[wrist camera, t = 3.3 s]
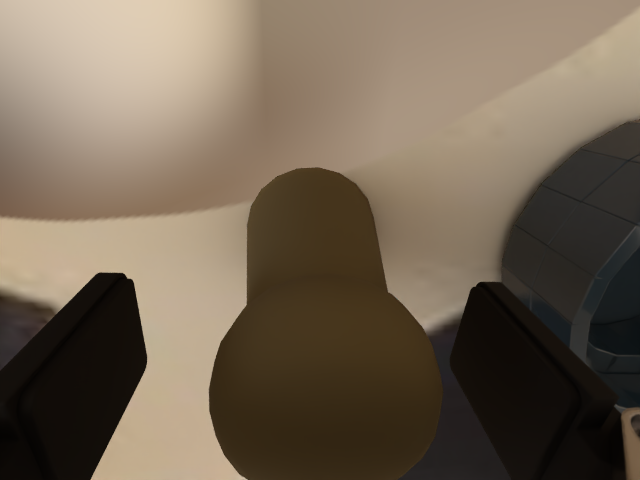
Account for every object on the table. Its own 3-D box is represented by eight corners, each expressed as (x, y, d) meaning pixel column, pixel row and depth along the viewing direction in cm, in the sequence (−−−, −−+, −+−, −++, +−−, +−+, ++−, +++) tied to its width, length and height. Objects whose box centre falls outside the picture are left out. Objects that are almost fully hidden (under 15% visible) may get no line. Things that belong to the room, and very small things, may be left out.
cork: (221, 235, 16) (101, 478, 6) (306, 137, 15) (323, 255, 5) (315, 304, 18) (337, 572, 8) (399, 224, 17) (554, 438, 7)
